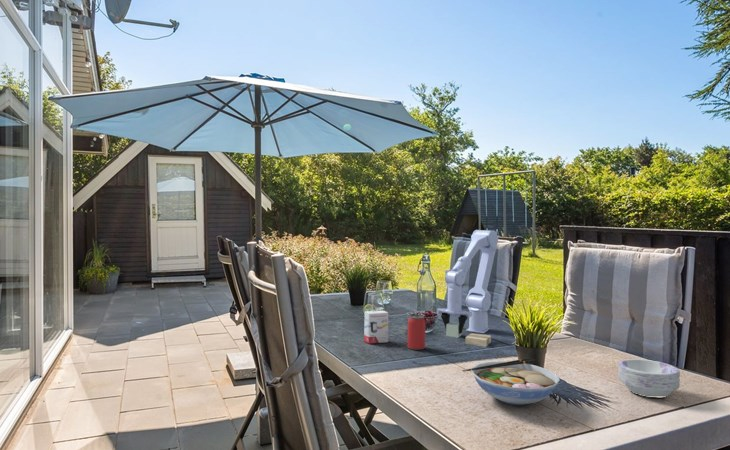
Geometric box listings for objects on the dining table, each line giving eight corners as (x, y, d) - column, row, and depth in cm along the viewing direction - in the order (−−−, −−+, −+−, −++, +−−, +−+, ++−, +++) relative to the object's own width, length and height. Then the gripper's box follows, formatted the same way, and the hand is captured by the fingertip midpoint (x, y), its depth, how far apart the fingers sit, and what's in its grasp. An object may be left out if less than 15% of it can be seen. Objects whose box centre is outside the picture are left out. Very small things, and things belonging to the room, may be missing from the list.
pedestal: (471, 340, 197) (471, 333, 197) (491, 343, 193) (491, 335, 193) (465, 344, 190) (465, 337, 190) (485, 347, 186) (485, 340, 186)
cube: (450, 333, 206) (450, 321, 205) (461, 335, 203) (461, 323, 203) (446, 336, 201) (446, 324, 201) (457, 337, 199) (458, 325, 199)
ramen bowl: (505, 424, 116) (505, 390, 116) (451, 392, 137) (452, 363, 137) (582, 409, 126) (582, 378, 126) (521, 381, 147) (521, 354, 147)
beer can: (424, 346, 185) (425, 314, 185) (425, 350, 179) (425, 318, 178) (407, 345, 186) (408, 314, 186) (407, 350, 179) (407, 317, 179)
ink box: (368, 344, 186) (368, 313, 186) (363, 341, 191) (363, 311, 191) (388, 342, 190) (389, 312, 190) (383, 339, 195) (383, 310, 194)
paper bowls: (608, 383, 147) (608, 357, 147) (659, 384, 147) (660, 358, 146) (634, 402, 132) (635, 373, 132) (691, 404, 131) (692, 374, 131)
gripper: (434, 299, 202) (434, 331, 202) (468, 303, 195) (468, 336, 195) (440, 297, 208) (439, 328, 208) (473, 300, 201) (473, 333, 201)
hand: (453, 332), depth 202 cm, fingers closed on cube, 5 cm apart
